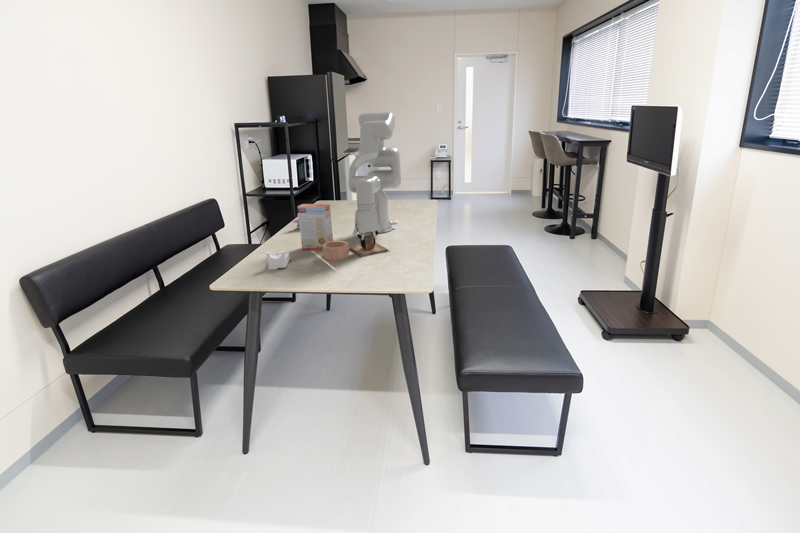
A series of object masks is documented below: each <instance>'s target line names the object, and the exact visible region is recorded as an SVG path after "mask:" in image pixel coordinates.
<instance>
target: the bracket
mask: <svg viewBox="0 0 800 533" xmlns="http://www.w3.org/2000/svg"><path fill="white" fill-rule="evenodd" d="M266 259H267V268H268V270H269V269H277V270H279V269H283V268H284V269H285V268H287V266H288V264H289V262H290V260H291V252H289V251H287V252H286V250H281V252H273V253H272V254H271V251H270V250H269V251H266Z"/></svg>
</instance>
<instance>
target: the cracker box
mask: <svg viewBox="0 0 800 533" xmlns="http://www.w3.org/2000/svg"><path fill="white" fill-rule="evenodd" d="M297 214H298V215H297V217H298V216H299V225H300V227H299V233H300V240H301V248H302V250H306V251H307V250H311V251H312V250H318V251H319V250H322V251H323V244H325V243H327V242H332V241H334V239H333V238H334V236H333V234H334V233H333V226H332V223H333V222H332V216H331V215H332V214H331V205H330V204H324V203H323V204H321V203H320V204H319V203H302V204H300V205H298V206H297Z"/></svg>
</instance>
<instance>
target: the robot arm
mask: <svg viewBox="0 0 800 533" xmlns="http://www.w3.org/2000/svg"><path fill="white" fill-rule="evenodd" d="M395 124H396V117H395V116H394V114H393V112H390V111H389V112H387V111H386V112H385V111H384V112H365V113H364V112H363V113H361V114H360V115H359V116H358V125H359V128H360V129H359V153H358V155H357V156H356V157H355V158H354V159H353V160H352V162H351V164H350V166H349V170H348V184H347V185H348V189H349V191H350V193H354V194H356V207H357V210H355V215H354V230H353V232H352V235H353V236H355V237H357V238H358V239H360V241H359V242H360V245H361V246H362V247H363V248H366V246H365V240H364V236H365V234H367V233H370V235H371V236H373V237H374V247H375V244H376V243H377V242H376V238H377V236H378V234H382V233H388V232H392V230H393V226H395V225H396V226H397V225H398V220H394V221H393V220H390V218H389V216H390V215H389V212H390V210H389V197H388V195H387V193H386V192H385V190H386V189H397V188H400V186H401V182H402V173H401V172H402V170H401V157H400V156H401V155H400V152H399V150H398V148H397V147H385V140H390V139H391V138H392V137H393V133H394V128H395ZM367 163H368V164H369V166H371V167H372V168H389V169H371V170H369V171H368V172H367V174H366V175H357V172H358V169H359V168H360V167H362V166H363V165H365V164H367Z"/></svg>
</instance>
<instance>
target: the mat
mask: <svg viewBox="0 0 800 533" xmlns="http://www.w3.org/2000/svg"><path fill="white" fill-rule="evenodd" d="M349 252H351V253H352V254H354V255H355V256H357V257H359V258H365V257H369V256H375V255H379V254H383V253H384V254H386V253H390V252H391V250H389V249H388V251H386V252H381V253H376V254H371V255H366V256H360V255H358V254H357V253H355V252H354V251H352V250H350V248H349Z"/></svg>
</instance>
